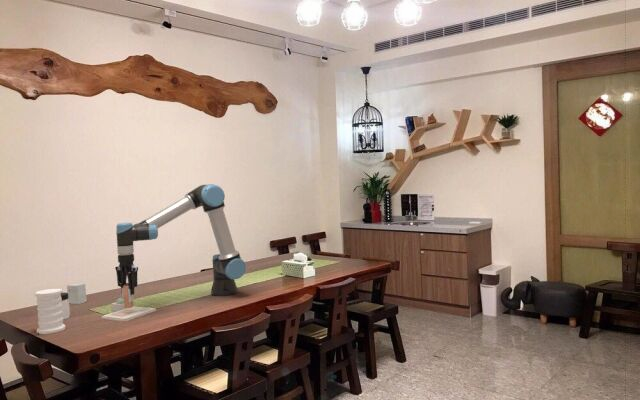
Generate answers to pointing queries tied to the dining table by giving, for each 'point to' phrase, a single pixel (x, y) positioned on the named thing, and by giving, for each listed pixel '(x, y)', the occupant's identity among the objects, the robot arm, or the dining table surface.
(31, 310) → the dining table surface
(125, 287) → the marker
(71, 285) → the small box
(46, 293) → the decorative container
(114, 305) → the button housing
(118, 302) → the button
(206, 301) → the dining table surface
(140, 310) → the board
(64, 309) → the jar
